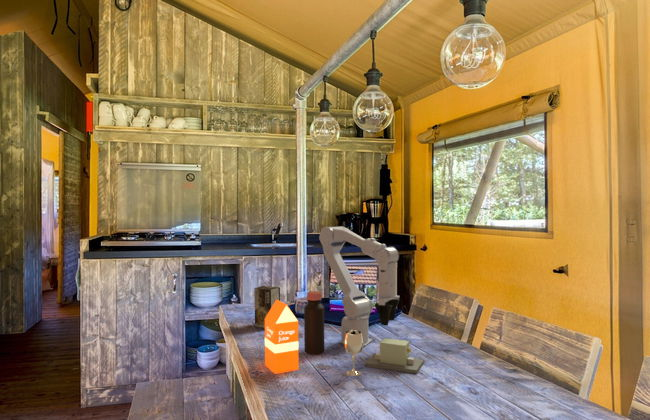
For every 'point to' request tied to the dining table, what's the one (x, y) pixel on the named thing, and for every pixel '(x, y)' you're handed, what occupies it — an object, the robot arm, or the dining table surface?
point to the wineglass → (353, 347)
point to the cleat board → (411, 366)
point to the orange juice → (281, 339)
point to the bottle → (314, 324)
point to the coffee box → (264, 302)
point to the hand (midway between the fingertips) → (387, 322)
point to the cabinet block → (394, 351)
